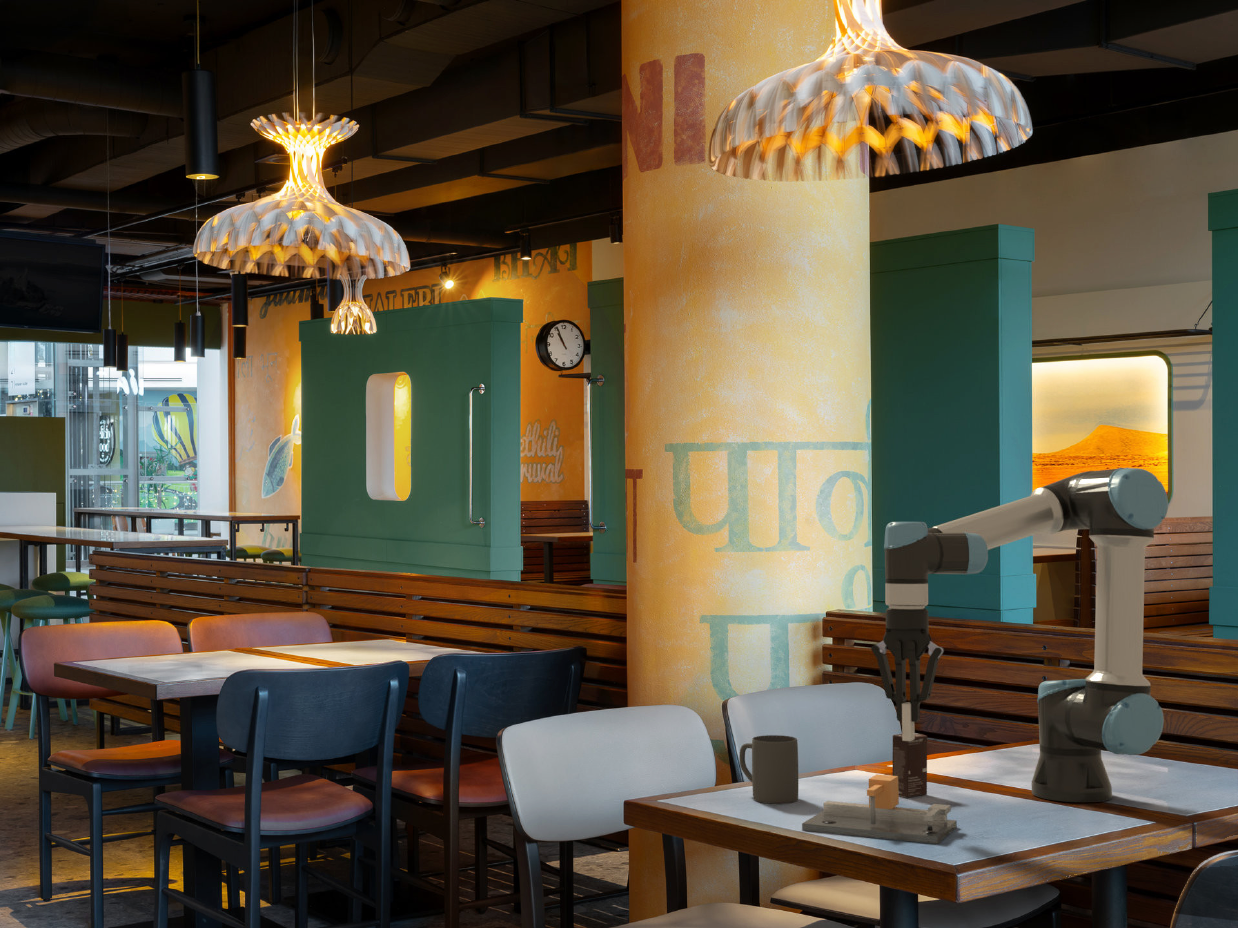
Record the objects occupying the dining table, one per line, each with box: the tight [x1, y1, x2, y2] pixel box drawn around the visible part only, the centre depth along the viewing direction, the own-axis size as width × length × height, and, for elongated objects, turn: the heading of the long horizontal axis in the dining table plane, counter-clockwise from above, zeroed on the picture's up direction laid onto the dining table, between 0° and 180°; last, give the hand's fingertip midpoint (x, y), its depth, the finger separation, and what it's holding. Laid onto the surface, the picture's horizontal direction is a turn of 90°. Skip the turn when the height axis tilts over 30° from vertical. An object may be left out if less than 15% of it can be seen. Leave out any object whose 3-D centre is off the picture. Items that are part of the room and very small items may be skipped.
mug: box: [738, 734, 799, 805], centre depth 255 cm, size 14×9×12 cm
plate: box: [801, 810, 958, 845], centre depth 227 cm, size 24×14×1 cm, turn 62°
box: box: [891, 732, 928, 798], centre depth 257 cm, size 6×4×12 cm
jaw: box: [866, 774, 900, 824], centre depth 227 cm, size 4×11×7 cm, turn 152°
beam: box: [823, 800, 952, 831], centre depth 227 cm, size 22×10×3 cm, turn 62°
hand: (908, 739), depth 228 cm, fingers closed
